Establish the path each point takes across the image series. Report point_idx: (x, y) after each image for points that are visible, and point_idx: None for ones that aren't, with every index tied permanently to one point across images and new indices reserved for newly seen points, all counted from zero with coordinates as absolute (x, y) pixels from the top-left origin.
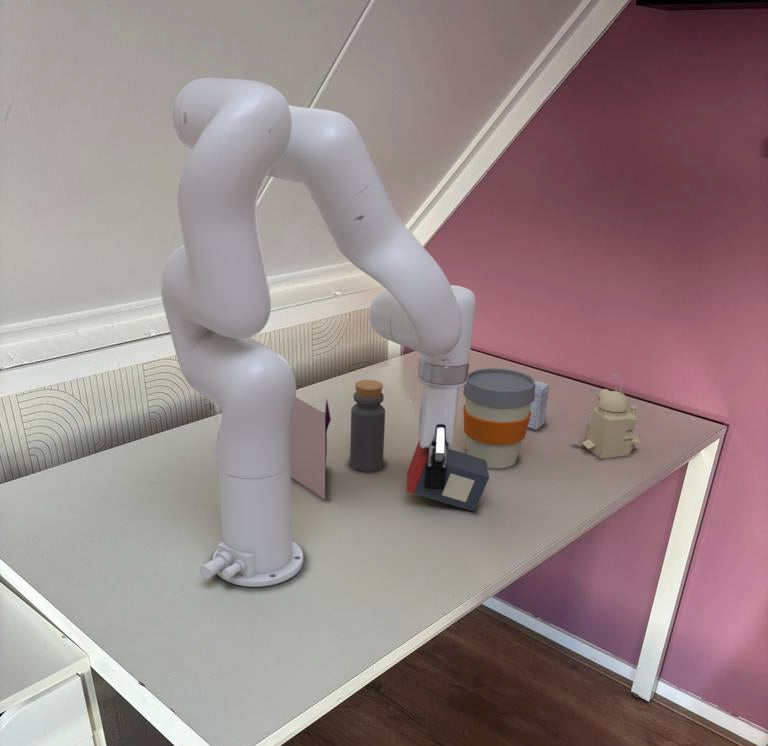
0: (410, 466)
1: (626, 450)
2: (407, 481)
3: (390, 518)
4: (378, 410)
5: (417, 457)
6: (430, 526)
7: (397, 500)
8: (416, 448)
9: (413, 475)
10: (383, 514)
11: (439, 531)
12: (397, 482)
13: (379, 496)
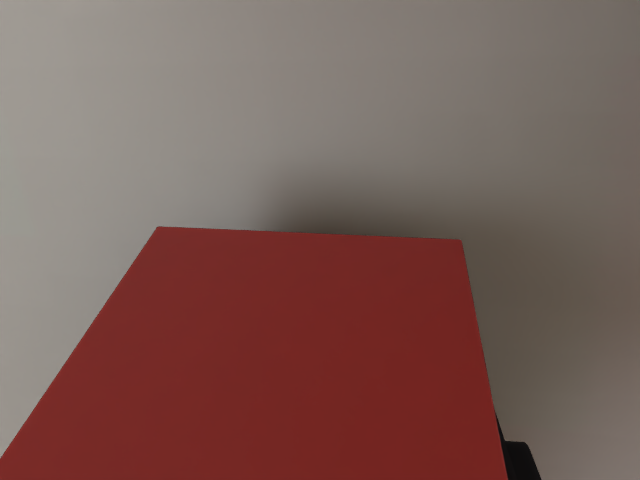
0: (397, 298)
1: None
2: (271, 244)
3: (98, 104)
4: None
5: (141, 451)
6: (68, 303)
7: (317, 147)
8: (460, 453)
9: (90, 327)
10: (134, 61)
11: (35, 337)
12: (570, 150)
13: (362, 28)
